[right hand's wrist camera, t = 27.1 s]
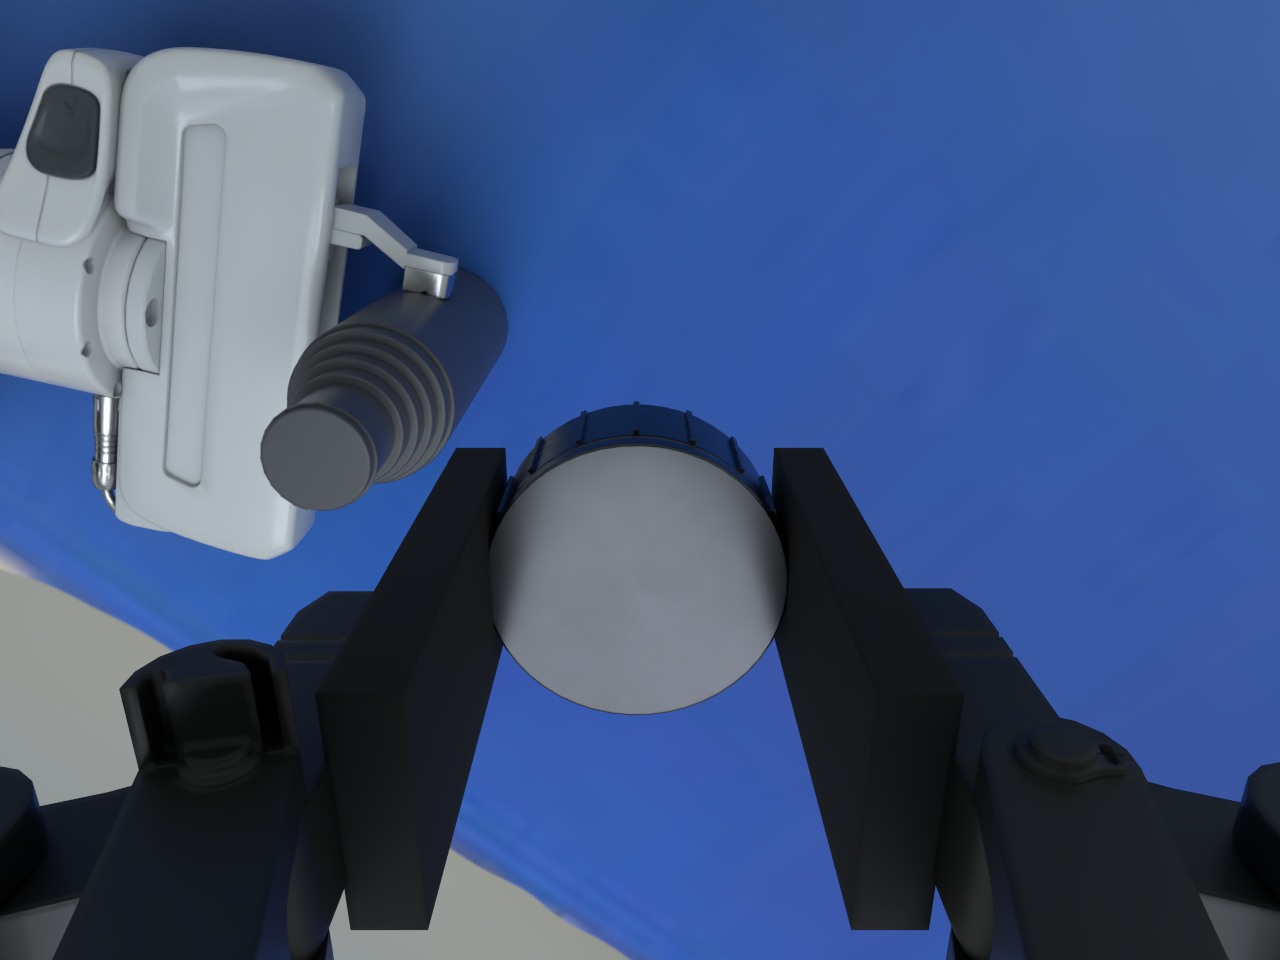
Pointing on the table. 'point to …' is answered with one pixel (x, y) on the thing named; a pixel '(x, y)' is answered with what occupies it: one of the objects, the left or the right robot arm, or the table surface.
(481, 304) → the bottle
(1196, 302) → the table surface
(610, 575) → the cap
